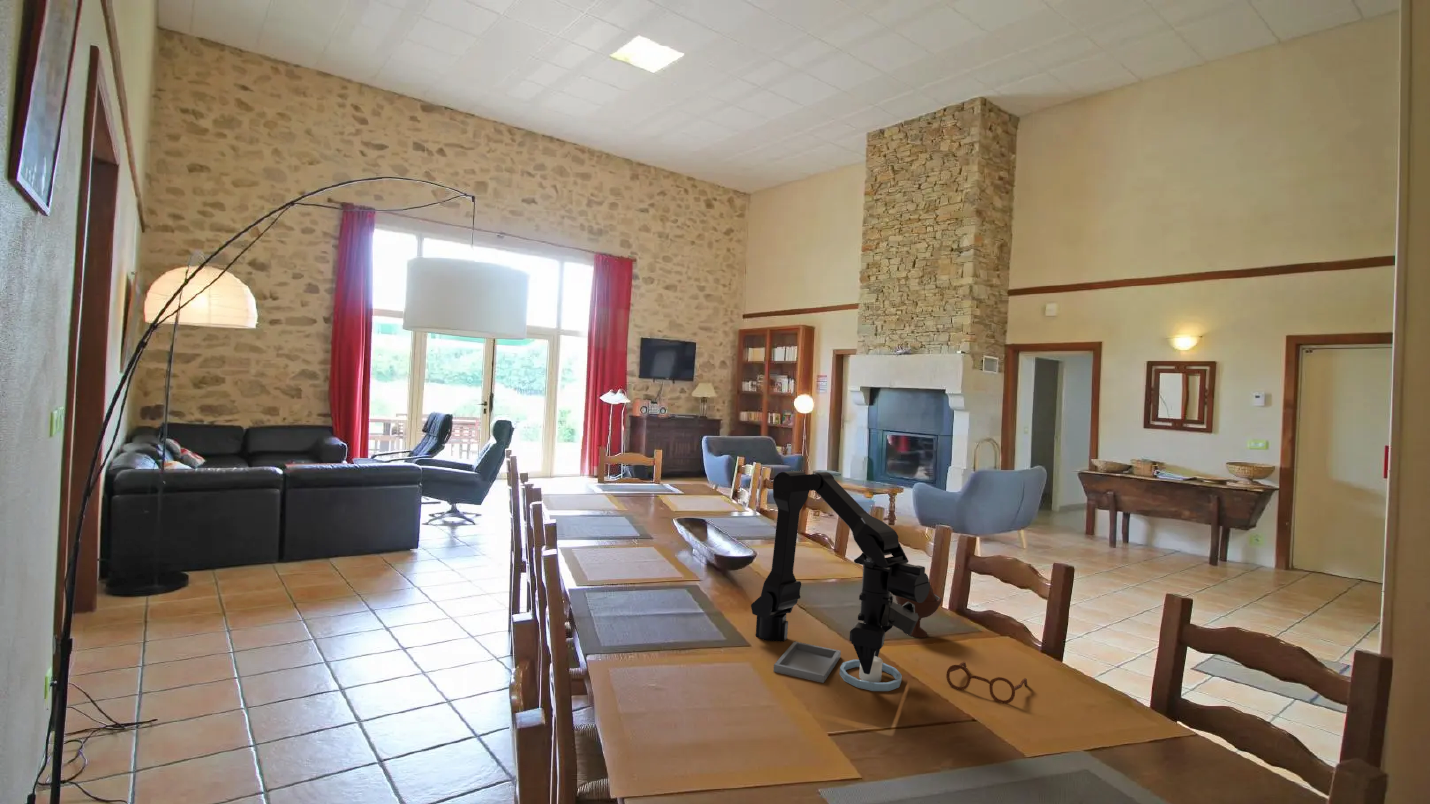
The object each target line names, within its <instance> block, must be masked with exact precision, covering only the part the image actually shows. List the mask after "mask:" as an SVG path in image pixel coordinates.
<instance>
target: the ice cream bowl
mask: <svg viewBox="0 0 1430 804" xmlns="http://www.w3.org/2000/svg"><path fill="white" fill-rule="evenodd" d="M895 600H896V604H898V605H899V604H901V606H902V605H904V604H905V603H906V602H908V601H909V602H911V603H912V604H914V605H915V613H918V616H919V618H918V621H917V623H916V625H915V627H914V629H913V631H912V633H911V636H910V637H912V636H913V638H920V639H921V638H926V637H927V636H928V631H926V630H924V629H923V628H922V627H921V621H922V619H923V618H924V619H925V618H928V617H930V616H933V614H934V613H936V612H937V610H938V609H939V607H940V605H941V603H942V597H941V596H939V595H938V594H937V593H934V589H933V587H932V585H931V584H930V589H929V593H928V596H927V598H926V599H925V600H924V601H923V602H922V603H918V602H915V601H911V600H908V599H905V598H901V597H898V596H895Z"/></svg>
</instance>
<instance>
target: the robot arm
mask: <svg viewBox="0 0 1430 804" xmlns="http://www.w3.org/2000/svg"><path fill="white" fill-rule="evenodd" d="M810 491H813V492H816V494H817V495H818V496H820V497H821V499H822V500H823V501H824V502H825V503H826V504H827V506H829V507H830V508H831V510H833V511H834V513H835V514H836V515H837V516H838V517H839V518H840V519H841V520H842V521H843V522H844V523H845V525H846V526H847V527H848V528H849V529H850V531H851V533H852V536H853V539H854V542H855V544H856V545H857V546H858V548H859V549H860V551H861V552H862V553H861V554H860V555H859V556H857V557H856V558H855V559H854V560H853V563H855V564H858V565H862V567H863V568H862V577H861V592H860V593H859V596H858V600H859V601H860V610H859V614H858V615H857V621H859V622H856V623H855V624H853V626H852V628H851V629H850V630H849V638H848V639H849V641H850V642H851V643H850V644H852V645H853V648H854V650H855V653H856V655H857V657H858V660H859V661H860V664H861V666H862V669H863V672H864V673H865V674H870V671H871V668H872V664H873V660H874V656H877V657H879V654H880V651H881V649H882V648H883V647H884V644H885V639H886V638H885V637H886V633H888V632H889V631H890V630H891V629H892V628H893V627H895V628H897V629H899V630H900V631H902V632H903V633H904V634H905V635H907V634H908V635H907V636H910V635H911V633H912V631H913V629H914V627H915V625H916V623H917V621H918V618H919V616H918V613H915V605H914V604H912V603H911V602H909V601H908V602H906V603H905V604H904V605H902V606H901V604H899V605H898V603H897V602H894V597H896V596H898V597H901V598H905V599H908V600H911V601H915V602H918V603H922V602H923V601H924V600H925V599H926V598H927V596H928V593H929V589H930V585H931V583H930V580H929V576H928V574H927V573H926V567H925V566H922V565H914V564H911V563H909V558H908V557H907V555H906V553H905V551H904V549H903V548H902V545H901V543H900V542H899V535H898V533H897V531H896V530H895V529H893V527H891V526H890V525H888V524H886V523H885V522H884V521H882V520H881V519H878V518H876V517H874V516H872V515H871V514H869V513H868V512H867V511H866V510H865V509H864V508H863V507H862V506H861V505H860V504H859V502H857V501H856V500H855V499H854V497H852V496H851V495H850V494H849V492H847V491H846V490H845V489H844V487H842V486H841V484H839V482H838V481H837V480H836V479H835V477H834V475H833V474H832V473H830V472H827V471H820V472H813V473H811V474H807V473H806V472H804V471H802V470H795V471H793V470H792V471H780V472H779V473H777V474H776V475H775V476H774V477H773V479H772V498H773V500H774V502H775V506H776V507H777V515H776V516H777V517H776V526H775V535H774V545H773V551H772V552H773V553H772V561H771V563H772V564H771V569H770V572H769V574H768V575H767V576H766V578H765V580H764V581H763V585H762V588H761V593H760V596H759V597H758V598H756V599H755V601H753V602H752V603H750V604H751V605H750V608H751V613H752V615H754V616H756V622H755V625H756V627H755V637H756V638H759V639H760V640H763V641H766V642H779V643H781V642H782V643H783V642H785V641H786V640H787V639H788V633H789V631H788V630H789V620H787V614H791V613H792V612H793V608H794V606H796V605H797V604H798V601H799V600H800V599H801V593H800V592H801V588H802V581H800V580H797V579H796V576H795V573H794V568H795V567H794V566H795V558H796V550H797V549H796V547H797V538H798V531H799V522H800V520H799V519H800V513H801V510H802V509H803V507H804V505H805V504H806V502H807V500H808V498H809V494H810ZM889 555H891V556H889ZM886 556H887V557H886ZM860 621H862V622H860Z"/></svg>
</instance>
